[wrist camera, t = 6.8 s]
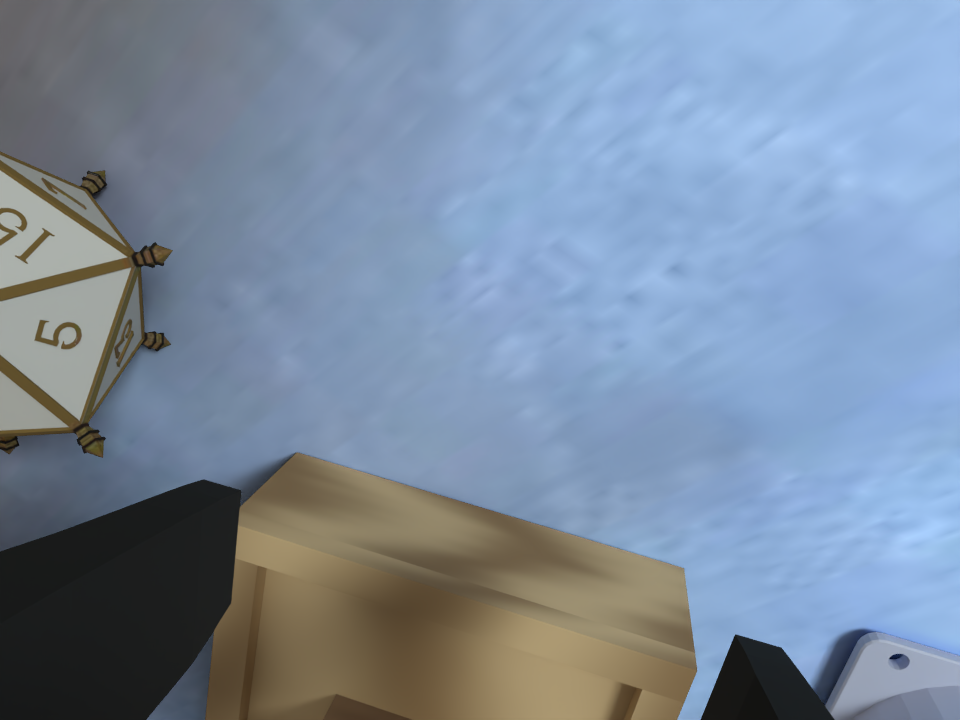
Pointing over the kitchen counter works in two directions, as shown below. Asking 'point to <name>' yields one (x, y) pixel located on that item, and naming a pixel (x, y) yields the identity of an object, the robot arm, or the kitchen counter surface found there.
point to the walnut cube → (357, 711)
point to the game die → (64, 304)
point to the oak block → (438, 611)
